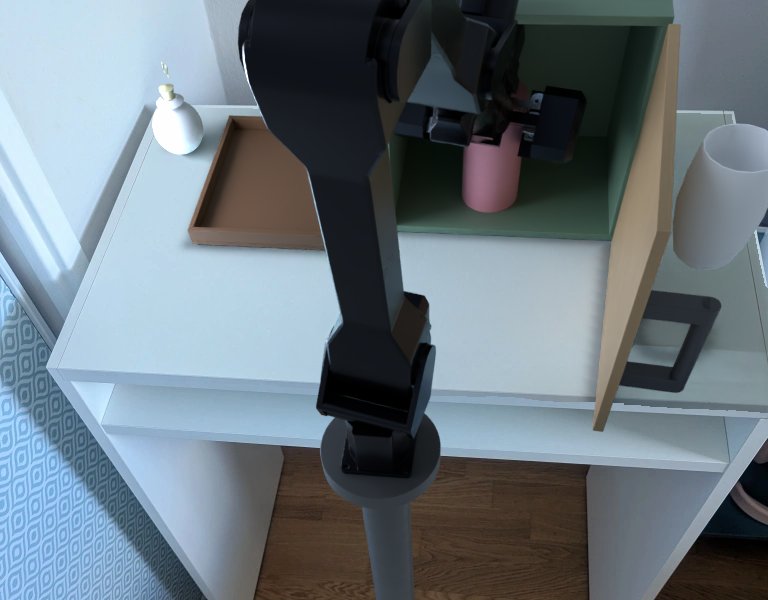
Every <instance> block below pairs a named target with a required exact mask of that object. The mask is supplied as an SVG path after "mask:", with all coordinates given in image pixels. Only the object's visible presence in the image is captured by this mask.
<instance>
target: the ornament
mask: <svg viewBox="0 0 768 600" xmlns="http://www.w3.org/2000/svg"><path fill="white" fill-rule="evenodd" d="M160 62H161V66H162V71H163V73H165V74H166V75H167V78H170V77H169V71H168V68H169V67H168V66H167V65H166V64H165V63H163V62H162V61H160ZM157 89H158V91H159V93H160V95H161V96H159V98H157V100H156V106H157V109H156V110H155V112H154V114H153V117H152V129H153V133H154V137H155V139H156V140H157V142H158V143H159V144H160V146H161V147H163V149H164V150H167V151H168V152H169V153H172V154H174V155H187V154H190V153H192V152H193V151H195V150H196V149H197V148H198V147H199V146H200V144H201V143H202V141H203V137H204V123H203V119H202V117H201V115H200V114H199V112H198V110H197V109H196V108H195V107H194V106H193V105H191V104H190V103H188V102H186V101H185V98H184V96H183V95H182V94H181V93H176V92H175V87H174V85H173V83H171V82H165V83H161V84H160V85H159V86H158V88H157Z"/></svg>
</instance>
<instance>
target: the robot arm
mask: <svg viewBox="0 0 768 600" xmlns="http://www.w3.org/2000/svg"><path fill="white" fill-rule="evenodd" d="M518 2H519V0H247V1H246V3H245V5H244V7H243V9H242V11H241V13H240V17H239V23H238V28H237V30H238V31H237V32H238V33H237V47H238V57H239V61H240V65H241V66H242V70H243V73H245V78H246V80H247V83H248V86H249V89H250V91H251V94H252V96H253V98H254V101H255V103H256V105H257V108H258V110H259V113H260V116H262V117H263V120H264V122H265V125H266V126H267V128H268V130H269V131H270V132H271V133H272V134H273V135H274V136H275V137H276V138H277V139H278V140H279V141H280V142H281V143H282V144H283V145H284V146H285V147H286V148H287V149H288V150H289V151H290V152H291V153H292V154H293V155H294V156H295V157H296V158H297V159H298V160H299V161H300V162H301V163H302V164H303V165H304V166H305V167H306V170H307V173H308V178H309V182H310V186H311V190H312V195H313V199H314V203H315V207H316V212H317V216H318V220H319V224H320V229H321V233H322V237H323V242H324V246H325V250H324V251H325V254H326V257H327V262H328V267H329V272H330V274H331V279H332V284H333V288H334V292H335V297H336V302H337V305H338V309H339V314H338V317H337V318H336V321H335V324H334V325H333V326H332V328H331V330H330V332H329V335H328V337H327V338H326V339H325V341H324V346H323V347H324V348H323V354H322V362H321V372H320V380H319V381H320V382H319V385H318V386H319V387H318V393H317V398H316V403H315V410H317V412H318V413H319V414H320V415H321V416H324V417H331V418H339V419H343V420H345V425H346V432H347V433H346V439H345V444H344V450H343V455H342V461H341V466H340V467H341V471H342V473H344V474H354V475H367V476H380V477H392V478H405V479H407V478H410V477H411V476H412V470H413V462H414V455H415V447H416V439H417V431H418V428H419V425H420V422H421V420H422V417H423V415H424V413H426V409H427V407H428V405H429V402H430V400H431V396H432V388H433V381H434V372H435V365H436V364H435V363H436V358H437V357H436V356H437V347H436V345H435V344H432V335H431V330H432V324H431V321H430V303H429V301H428V299H427V297H426V295H424V294H420V293H414V292H411V291H406V290H404V281H403V272H402V261H401V253H400V243H399V234H398V233H399V232H398V231H397V224H396V214H395V205H394V196H393V186H392V177H391V168H390V158H389V149H388V144H389V142H390V139H391V137H392V135H393V134H395V135H396V136H401V137H406V138H412V139H418V140H425V141H431V142H437V143H447V144H453V145H459V146H465V147H468V146H470V143H475V144H480V145H486V146H492V147H498V148H500V144H501V139H502V135H503V133H504V132H505V131H506V129H507V128H508V126H509V125H515V126H521V127H523V129H522V137H521V141H520V146H519V150H518V154H517V156H518V157H524V158H530V159H536V160H540V161H546V162H552V163H558V164H563V165H566V164H567V163H569V162H570V161H571V160H573V156H574V152H575V148H576V144H577V140H578V136H579V132H580V128H581V124H582V120H583V116H584V112H585V108H586V104H587V101H586V98H585V96H584V94H583V92H582V91H579V90H573V89H566V88H559V87H553V86H546V89H545V91H544V92H543V91H537V90H532V93H531V97H530V99H528V100H527V99H521V98H514V97H511V94H517V90H518V86H519V81H520V79H519V77H518V75H517V74H518V69H519V65H520V63H519V58H520V54H521V51H522V47H523V45H524V42H525V24H518V20H515V16H516V11H517V7H518ZM513 107H514V108H515V110H517V108H518V109H519V111H520V110H521V108H522V109H523V111H525V109H526V110H527V111H526V113H524V112H518V111H513ZM345 467H348V469H344V468H345ZM406 471H407V472H409V473H408V474H405V473H404V472H406Z"/></svg>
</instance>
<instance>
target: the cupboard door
mask: <svg viewBox="0 0 768 600" xmlns="http://www.w3.org/2000/svg"><path fill="white" fill-rule="evenodd" d="M681 27H682V25H681V24H679V23H673V24H669V25H668V28H667V32H666V36H665V39H664V43H663V47H662V51H661V55H660V59H659V62H658V66H657V70H656V74H655V78H654V82H653V85H652V89H651V93H650V97H649V101H648V105H647V108H646V112H645V116H644V120H643V124H642V128H641V131H640V135H639V139H638V143H637V147H636V151H635V154H634V158H633V162H632V166H631V170H630V174H629V177H628V181H627V185H626V189H625V193H624V197H623V200H622V204H621V208H620V212H619V216H618V220H617V223H616V227H615V231H614V235H613V239H612V241H611V242H610V249H609V250H610V251H609V261H608V271H607V281H606V291H605V301H604V311H603V319H602V320H603V322H602V332H601V339H600V340H601V342H600V350H599V351H600V352H599V362H598V371H597V372H598V373H597V382H596V391H595V402H594V412H593V421H592V431H594V432H600V433H603V432H604V431H605V427H606V425H607V423H608V418H609V416H610V412H611V410H612V408H613V404H614V402H615V399H616V395H617V393H618V390H619V387H626V388H634V389H642V390H650V391H658V392H663V393H664V392H665V393H673V394H679V393H682V392H683V391H684V390H685V387H686V385H687V383H688V382H689V381H688V380H689V379H690V376H691V374H692V372H693V370H694V368H695V366H696V363H697V361H698V359H699V357H700V355H701V353H702V350H703V348H704V346H705V344H706V342H707V340H708V337H709V335H710V333H711V331H712V328H713V326H714V324H715V322H716V320H717V319H718V316H719V314H720V311H721V309H722V302H721V301H720V300H719V298H716V297H713V296H708V295H700V294H699V295H698V294H689V293H683V292H682V293H681V292H673V291H664V290H653V287H654V284H655V281H656V278H657V275H658V273H659V269H660V266H661V264H662V260H663V258H664V255H665V251H666V249H667V246H668V243H669V240H670V237H671V234H672V224H673V200H674V175H675V158H676V157H675V156H676V137H677V134H676V133H677V114H678V113H677V112H678V91H679V90H678V89H679V70H680V69H679V68H680V49H681V48H680V47H681ZM642 319H644V320H653V321H660V322H669V323H677V324H679V323H680V324H686V325H689V327H688V330H687V332H686V334H685V337H684V339H683V342H682V344H681V346H680V349H679V350H678V353H677V356H676V358H675V361H674V363H673V365H672V366H669V365H662V364H661V365H660V364H655V363H654V364H653V363H652V364H651V363H645V362H639V361H638V362H637V361H629V357H630V354H631V351H632V348H633V345H634V343H635V339H636V337H637V334H638V330H639V329H640V325H641V322H642Z"/></svg>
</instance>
